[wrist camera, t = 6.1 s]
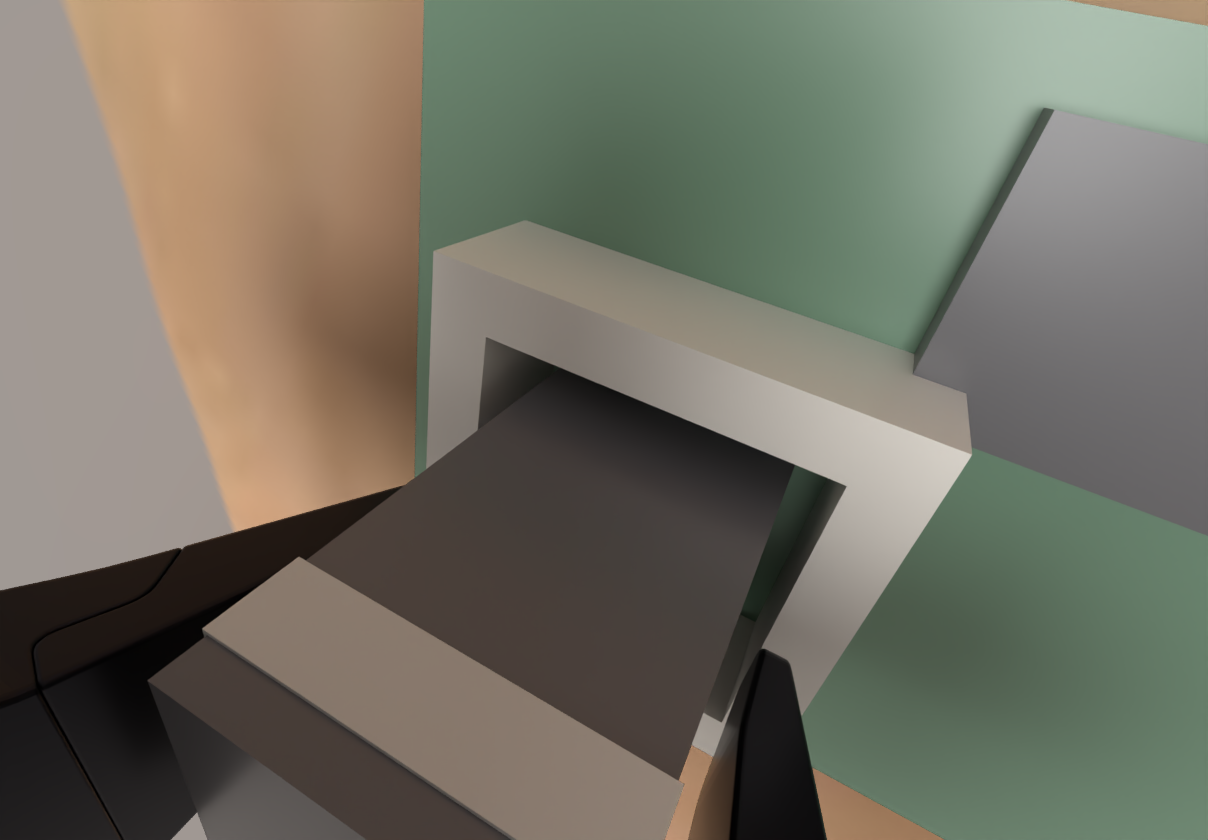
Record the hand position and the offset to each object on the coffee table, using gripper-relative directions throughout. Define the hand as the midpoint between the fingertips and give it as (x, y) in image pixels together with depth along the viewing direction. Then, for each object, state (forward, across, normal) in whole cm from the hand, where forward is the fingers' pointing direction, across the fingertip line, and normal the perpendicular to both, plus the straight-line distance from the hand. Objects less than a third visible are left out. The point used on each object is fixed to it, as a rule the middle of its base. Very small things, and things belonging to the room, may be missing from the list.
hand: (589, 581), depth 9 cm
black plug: (+3, 0, 0) cm, 3 cm away
